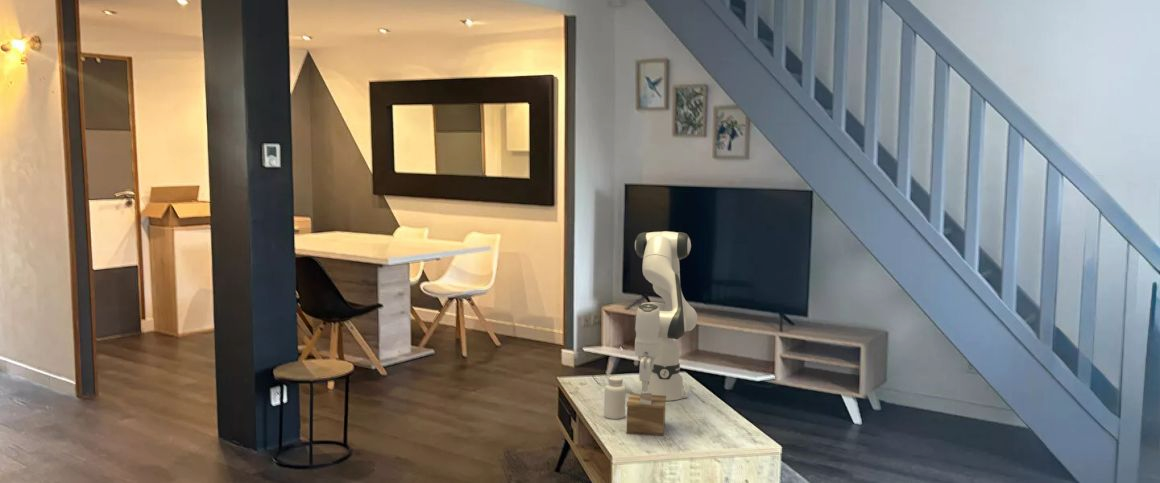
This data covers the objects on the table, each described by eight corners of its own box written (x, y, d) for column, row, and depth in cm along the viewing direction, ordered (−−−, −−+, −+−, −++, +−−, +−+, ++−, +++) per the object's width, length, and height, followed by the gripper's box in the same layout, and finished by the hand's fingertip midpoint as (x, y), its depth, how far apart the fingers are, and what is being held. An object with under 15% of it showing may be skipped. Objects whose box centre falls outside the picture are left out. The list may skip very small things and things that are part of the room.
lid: (630, 395, 341) (630, 384, 341) (666, 397, 339) (666, 386, 339) (626, 406, 327) (626, 394, 326) (664, 408, 325) (664, 396, 325)
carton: (630, 422, 342) (630, 396, 341) (664, 424, 340) (665, 397, 339) (626, 433, 328) (627, 406, 327) (662, 435, 326) (663, 408, 325)
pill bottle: (623, 420, 344) (624, 381, 342) (602, 418, 346) (603, 380, 344) (626, 414, 352) (627, 376, 350) (605, 412, 353) (606, 374, 352)
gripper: (654, 356, 315) (652, 395, 316) (657, 344, 335) (656, 381, 337) (635, 355, 316) (634, 394, 317) (640, 343, 336) (639, 380, 338)
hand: (645, 387), depth 327 cm, fingers open, 8 cm apart
